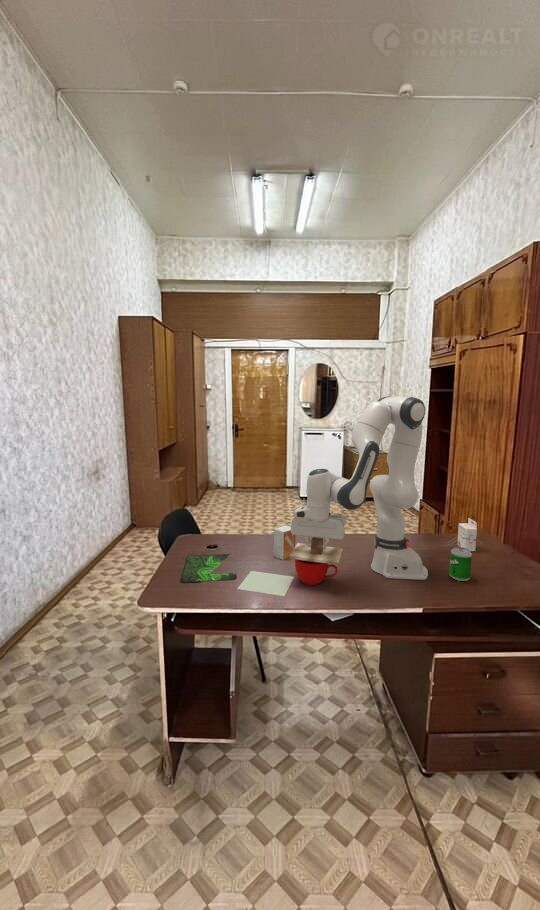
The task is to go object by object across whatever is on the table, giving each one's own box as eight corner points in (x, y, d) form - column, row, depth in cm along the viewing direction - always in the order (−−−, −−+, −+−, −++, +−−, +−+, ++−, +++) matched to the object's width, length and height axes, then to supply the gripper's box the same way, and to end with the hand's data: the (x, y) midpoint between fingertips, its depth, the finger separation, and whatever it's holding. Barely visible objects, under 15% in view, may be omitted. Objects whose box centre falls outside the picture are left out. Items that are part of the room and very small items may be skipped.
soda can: (468, 576, 153) (470, 547, 152) (471, 584, 146) (473, 554, 145) (447, 573, 156) (449, 545, 154) (450, 581, 149) (452, 551, 147)
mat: (294, 577, 150) (294, 576, 150) (284, 597, 135) (284, 596, 135) (251, 571, 155) (251, 570, 155) (237, 589, 140) (237, 588, 140)
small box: (283, 560, 167) (283, 532, 165) (273, 556, 172) (273, 528, 170) (295, 555, 173) (296, 528, 171) (285, 551, 177) (286, 524, 175)
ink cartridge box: (456, 546, 186) (458, 517, 184) (466, 546, 186) (468, 517, 184) (464, 552, 178) (467, 522, 176) (475, 553, 178) (478, 522, 176)
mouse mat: (186, 556, 172) (186, 554, 172) (235, 554, 174) (235, 552, 174) (179, 584, 145) (179, 581, 145) (237, 581, 147) (237, 579, 147)
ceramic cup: (330, 596, 136) (331, 569, 135) (288, 584, 145) (289, 559, 143) (342, 581, 148) (343, 557, 146) (302, 572, 156) (303, 548, 154)
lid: (342, 550, 149) (343, 535, 148) (338, 564, 135) (339, 548, 135) (297, 545, 154) (297, 531, 153) (289, 558, 140) (289, 542, 140)
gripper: (346, 512, 142) (345, 547, 144) (293, 507, 148) (293, 541, 150) (345, 517, 136) (343, 553, 138) (289, 512, 142) (289, 547, 144)
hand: (316, 547), depth 144 cm, fingers closed on lid, 4 cm apart
